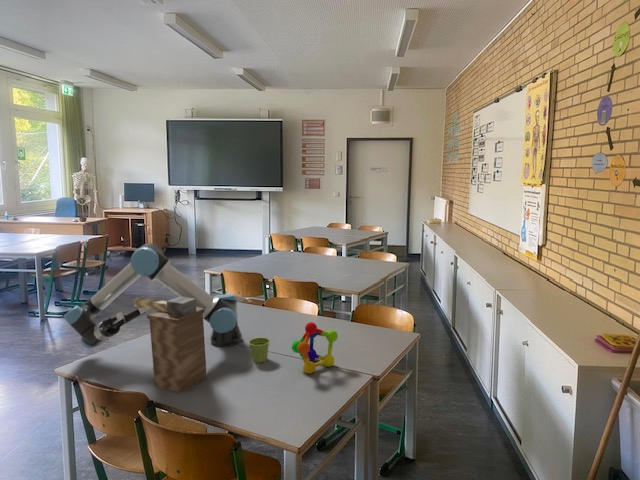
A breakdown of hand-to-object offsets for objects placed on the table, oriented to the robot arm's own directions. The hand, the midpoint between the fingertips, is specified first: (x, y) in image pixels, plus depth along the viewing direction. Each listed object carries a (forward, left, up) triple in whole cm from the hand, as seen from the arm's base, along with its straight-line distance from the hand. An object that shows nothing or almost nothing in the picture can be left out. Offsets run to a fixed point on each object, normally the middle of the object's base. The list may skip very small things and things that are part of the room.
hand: (136, 309), depth 187 cm
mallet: (-13, +7, +2) cm, 14 cm away
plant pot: (-49, -8, -28) cm, 56 cm away
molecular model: (-71, +1, -28) cm, 76 cm away
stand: (-19, +10, -27) cm, 35 cm away
